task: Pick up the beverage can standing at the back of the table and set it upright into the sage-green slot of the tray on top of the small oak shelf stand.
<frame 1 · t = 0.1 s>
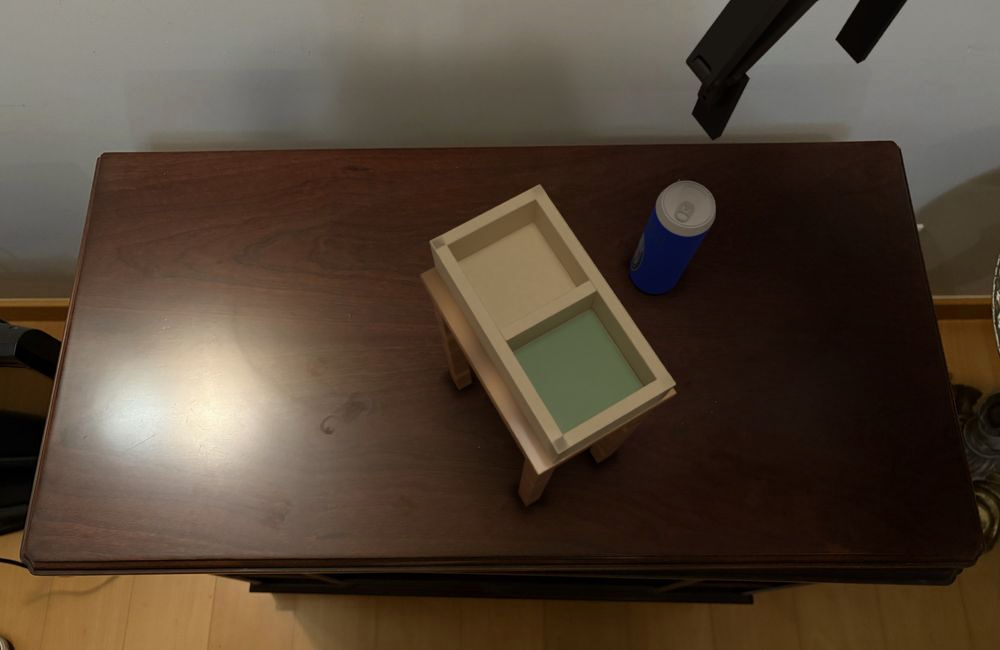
hand: (779, 87, 54), 24 cm above the cabinet top, tool pointing down, fingers open, 13 cm apart
tray: (544, 331, 45), resting on shelf
shelf: (529, 416, 69), on the cabinet top
beverage can: (652, 274, 75), on the cabinet top
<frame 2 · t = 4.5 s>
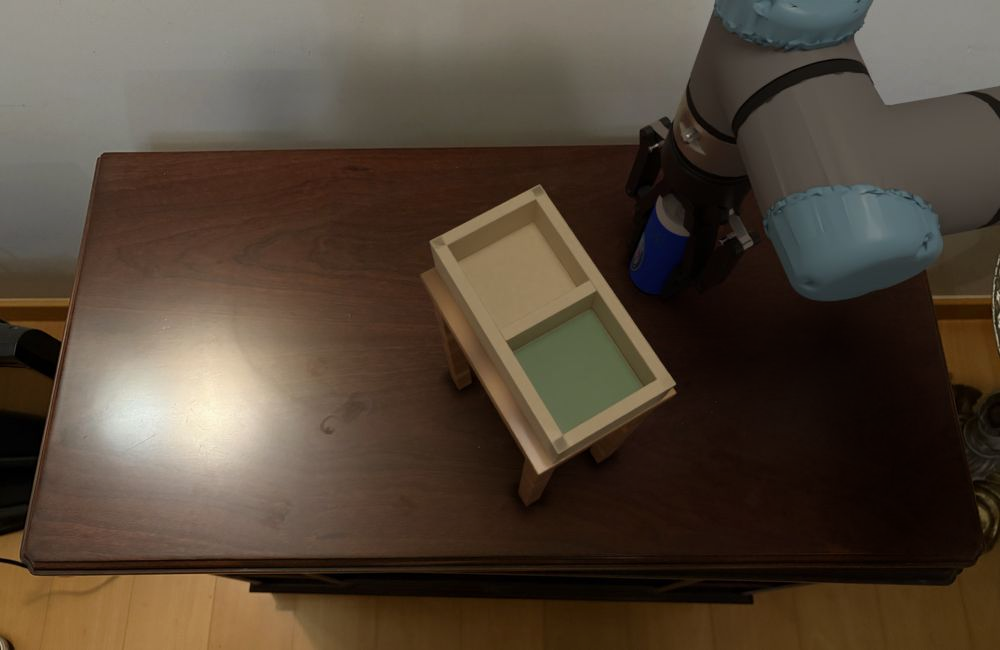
hand: (656, 266, 73), 2 cm above the cabinet top, tool pointing down, fingers closed on beverage can, 5 cm apart
beverage can: (652, 274, 75), on the cabinet top, touching gripper
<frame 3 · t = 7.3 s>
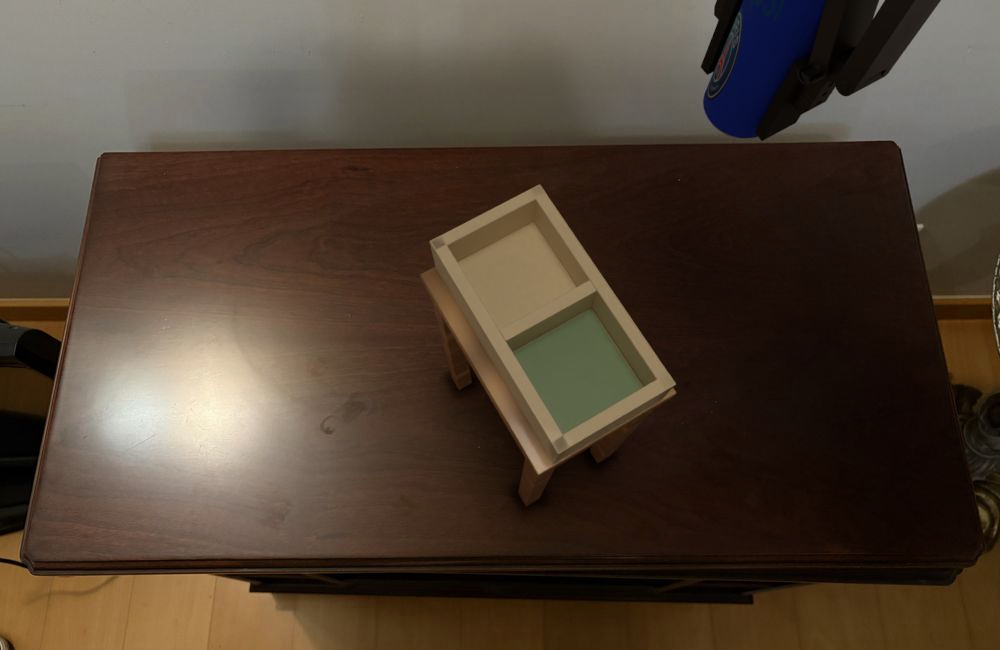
hand: (747, 94, 46), 30 cm above the cabinet top, tool pointing down, fingers closed on beverage can, 5 cm apart
beverage can: (738, 112, 48), point 28 cm above the cabinet top, touching gripper
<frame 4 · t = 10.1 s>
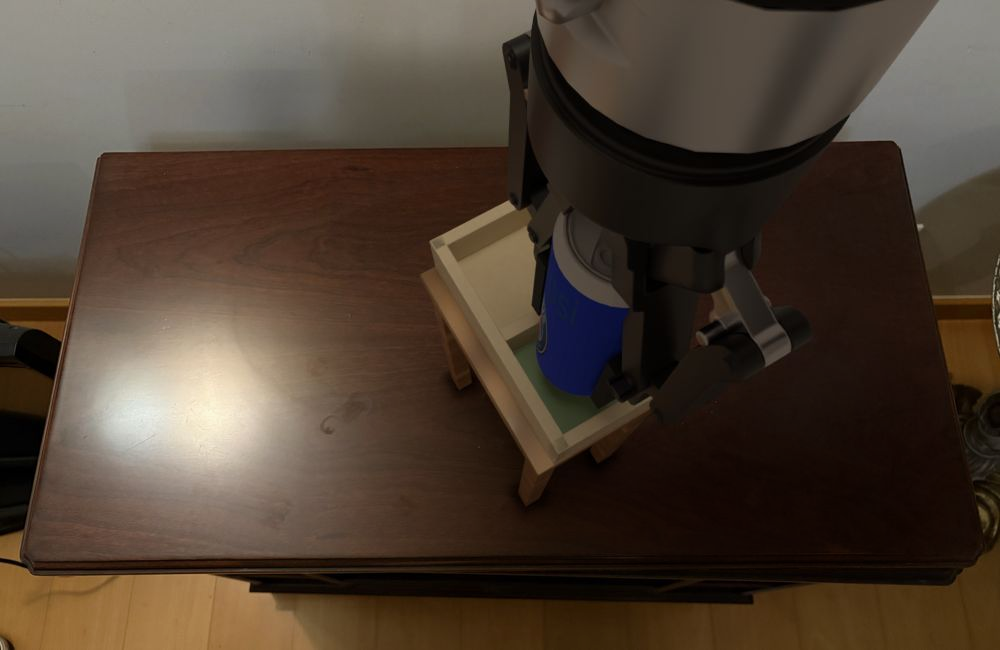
hand: (585, 343, 37), 33 cm above the cabinet top, tool pointing down, fingers closed on beverage can, 5 cm apart
beverage can: (581, 354, 39), point 31 cm above the cabinet top, touching gripper
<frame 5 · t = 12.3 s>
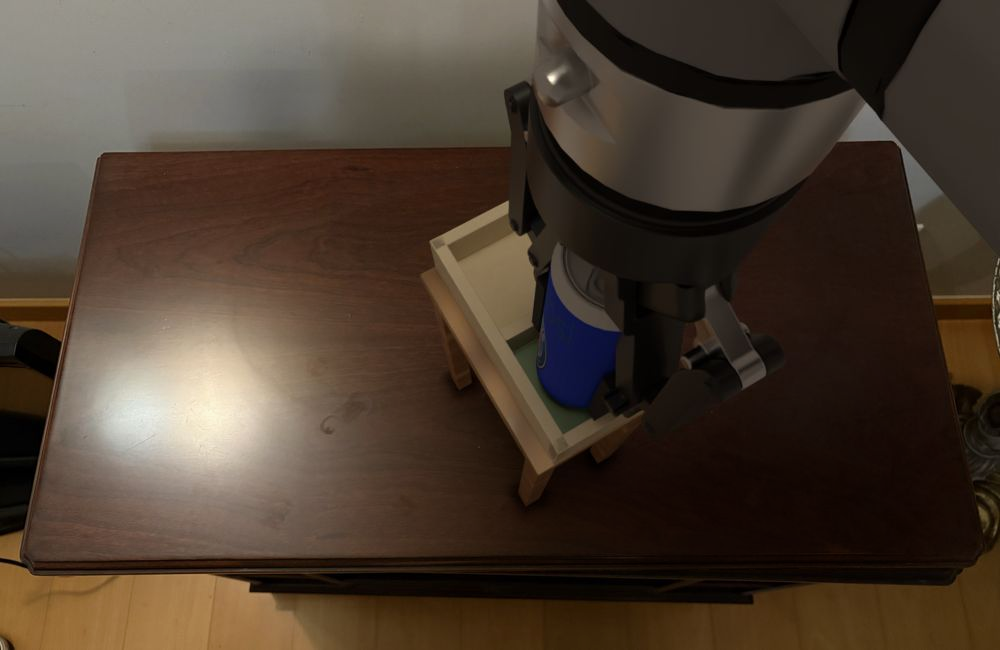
hand: (582, 358, 39), 31 cm above the cabinet top, tool pointing down, fingers closed on beverage can, 5 cm apart
beverage can: (579, 367, 41), point 29 cm above the cabinet top, touching gripper
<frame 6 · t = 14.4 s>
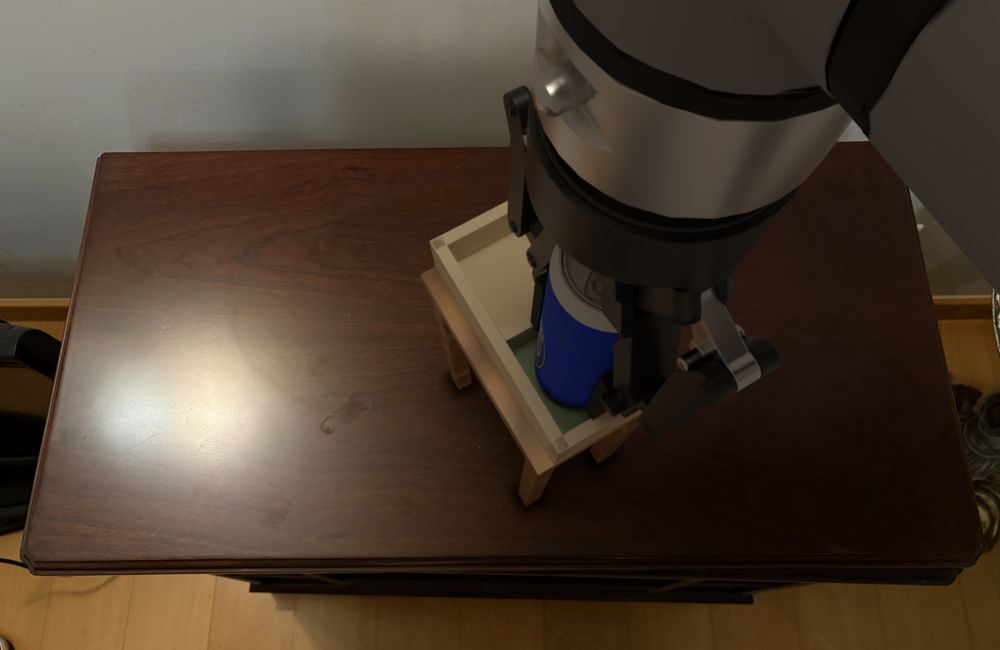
hand: (580, 358, 40), 30 cm above the cabinet top, tool pointing down, fingers closed on beverage can, 5 cm apart
beverage can: (577, 367, 42), point 28 cm above the cabinet top, touching gripper
when the fingers open (31 cm above the cabinet top, at t = 16.0 s): beverage can drops 2 cm, resting on tray.
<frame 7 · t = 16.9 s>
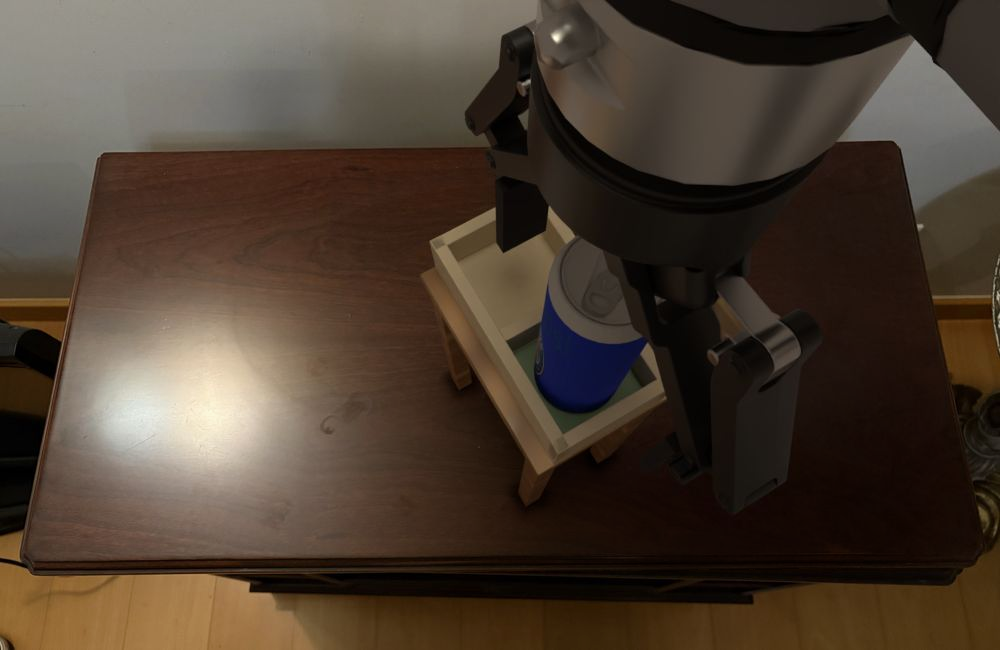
hand: (588, 339, 37), 34 cm above the cabinet top, tool pointing down, fingers open, 13 cm apart
beverage can: (575, 374, 43), point 27 cm above the cabinet top, touching tray
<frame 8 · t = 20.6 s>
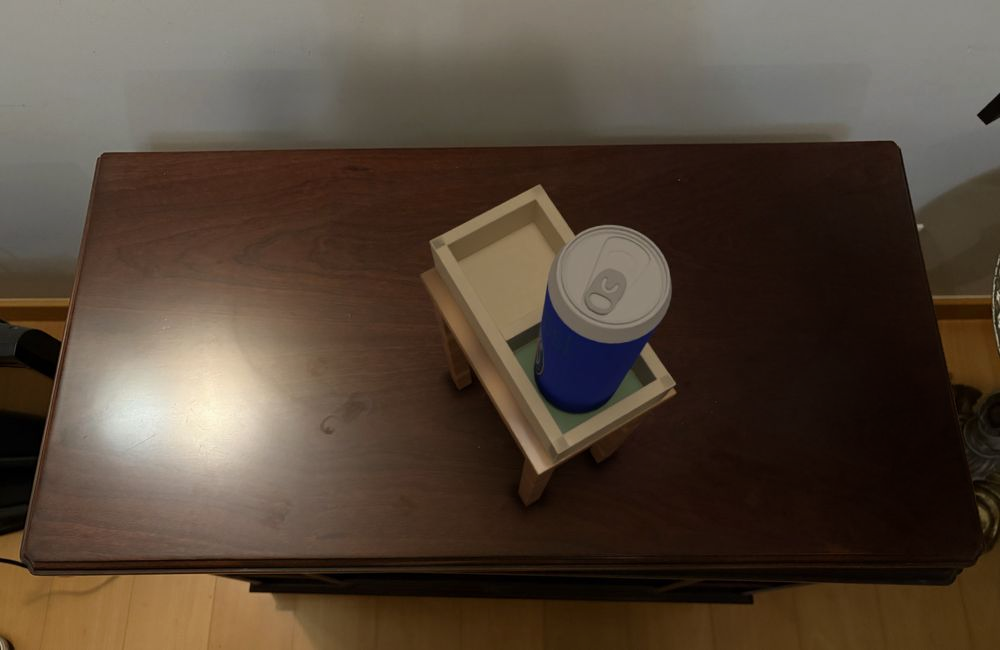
hand: (914, 21, 40), 37 cm above the cabinet top, tool pointing down, fingers open, 13 cm apart
nothing on the cabinet top moved.
at the end: beverage can 0.0 cm from the target spot on the tray, point 1.0 cm above the tray's base; beverage can tilted 0°; the gripper is holding nothing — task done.
